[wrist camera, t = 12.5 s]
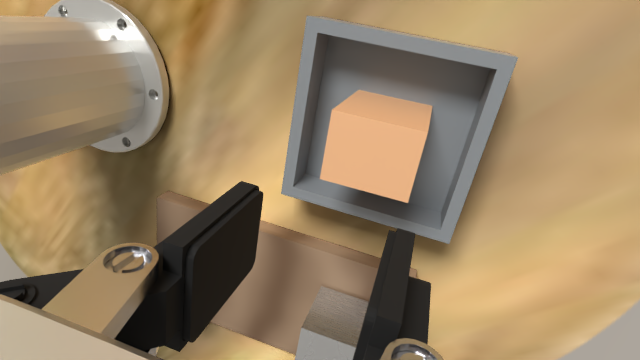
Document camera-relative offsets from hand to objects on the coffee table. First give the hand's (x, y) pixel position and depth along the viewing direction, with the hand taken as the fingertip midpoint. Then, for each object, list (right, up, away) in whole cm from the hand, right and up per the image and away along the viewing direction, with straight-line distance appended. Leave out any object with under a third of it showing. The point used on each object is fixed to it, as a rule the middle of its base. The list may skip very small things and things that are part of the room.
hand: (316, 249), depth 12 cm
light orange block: (+5, +6, +15) cm, 17 cm away
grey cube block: (+3, -10, +21) cm, 23 cm away
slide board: (-4, -7, +24) cm, 25 cm away
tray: (+5, +6, +15) cm, 17 cm away
